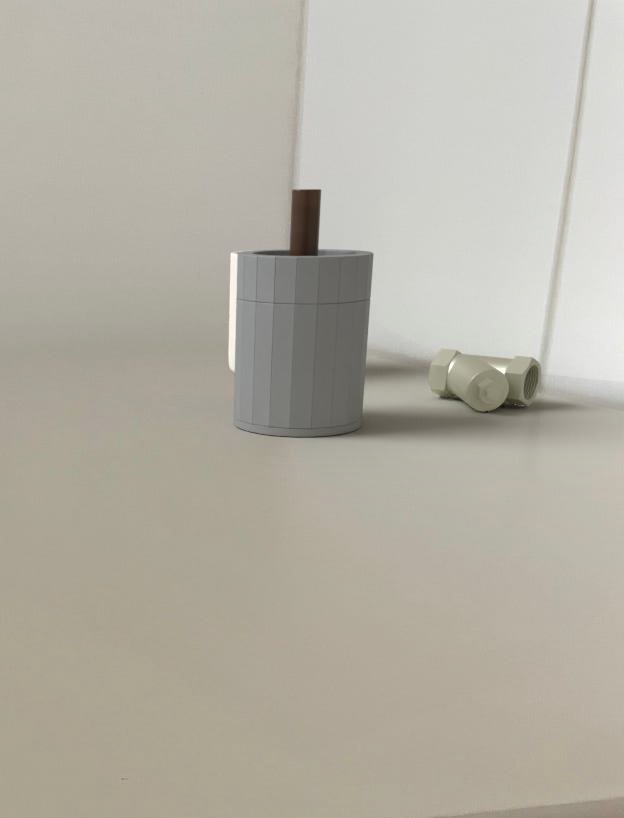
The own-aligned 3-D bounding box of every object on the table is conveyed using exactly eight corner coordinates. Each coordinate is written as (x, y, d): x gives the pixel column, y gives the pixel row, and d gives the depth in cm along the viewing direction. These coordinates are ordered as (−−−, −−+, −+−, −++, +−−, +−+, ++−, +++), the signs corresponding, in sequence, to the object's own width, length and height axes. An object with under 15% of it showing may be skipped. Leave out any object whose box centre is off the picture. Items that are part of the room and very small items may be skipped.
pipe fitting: (499, 422, 82) (538, 402, 86) (504, 370, 80) (543, 353, 84) (406, 409, 87) (447, 391, 91) (408, 360, 85) (450, 344, 89)
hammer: (298, 408, 82) (309, 189, 76) (334, 416, 79) (348, 188, 73) (258, 414, 80) (265, 189, 74) (293, 423, 77) (303, 189, 71)
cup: (331, 408, 85) (340, 247, 80) (382, 432, 77) (396, 255, 72) (217, 414, 83) (220, 250, 78) (257, 440, 75) (263, 258, 70)
